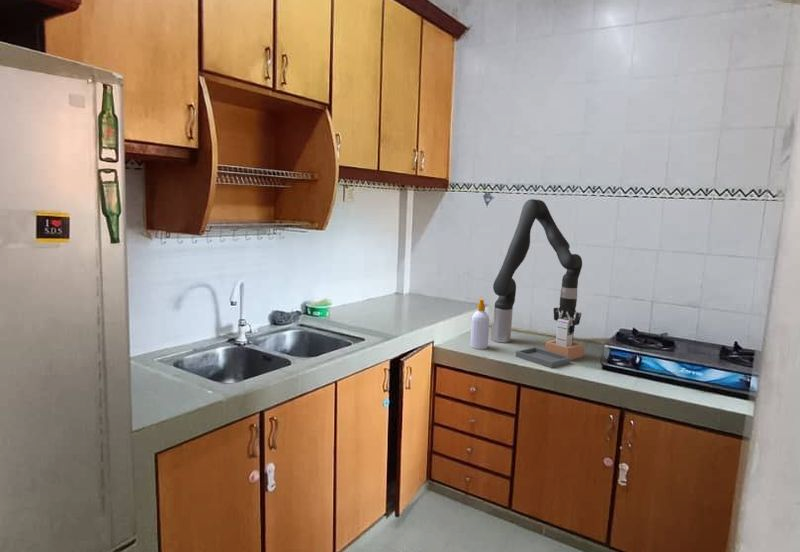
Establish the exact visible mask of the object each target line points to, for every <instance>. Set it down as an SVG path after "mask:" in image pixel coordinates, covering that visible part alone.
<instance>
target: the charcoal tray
mask: <svg viewBox="0 0 800 552" xmlns="http://www.w3.org/2000/svg"><path fill="white" fill-rule="evenodd" d="M518 357H519V359H521V358H522V360H524V359H525V361H529V362H531V363H534V364H537V365H540V364H541V365H540V366H544V367H547V368H550V369H554V368H557V366H558V367H560V365H561V366H564V364H565V365H569V364H571V361H572V360H571V357H567V356H564V355H560V354H557V353H554V352H550V351H547V350H545V349H543V348H539V347H537V346H536V347H535V346H533V347H528V348H524V349H520V350H519V349H518V350H516V351H515V358H518ZM568 363H569V364H568Z"/></svg>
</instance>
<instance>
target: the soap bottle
mask: <svg viewBox="0 0 800 552" xmlns="http://www.w3.org/2000/svg"><path fill="white" fill-rule="evenodd" d="M478 302H479V303H478V305H477V310H476V311H475V312H474V313H473V314H472V316H471V326H470V342H469V344H470V345H469V346H470V347H471V348H473V349H477V350H485V349H487V348H488V347H489V331H490V316H489V314H488V313H487V312H486V311H485V310H486V305H485V303H484V302H485V299H483V298H482V297H480V299H478Z"/></svg>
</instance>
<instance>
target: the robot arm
mask: <svg viewBox="0 0 800 552" xmlns="http://www.w3.org/2000/svg"><path fill="white" fill-rule="evenodd" d="M535 220H536V221H538V223H539V224H540V225H541V226H542V227H543V228H542V229H543V230H544V233H545V236H546V239H547V241H548V243H549V245H550V246H551V247H552V249H553V250H554V252H555V253H556V256H557V259H558V261H559V263H560V265H561V266H562V267H563V268H564V269H565V270H566V272H565V273H564V275H563V276H562V279H561V289H560V295H559V307H554V308H553V320H554V321H556V322H558V319H563V318H568V320H569V321H570V330H569V333H573V332H574V333H575V328H576V327H575V326H578V325H580V321H581V318H582V312H578V311H577V310H576V308H577V303H578V302H577V301H578V288H579V287H578V285H579V276H580V275H581V271H582V268H583V259H582V257H581V255H579V254H577V253H571V250H570V248H571V245H570V244H569V242H568V241H567V239H566V237H565V236H564V235H563V233H562V232H561V230H560V228H558V226H557V223H556V222H555V220H554V218H553V216H552V214H551V212H550V210H549V208H548V206H547V203H546V202H545V201H543V200H541V199H536V198H535V199H534V198H533V199H528V200H527V201H525V202H524V204H523V206H522V210H521V212H520V216H519V220H518V223H517V226H516V228H515V231H514V233H513V237H512V239H511V241H510V244H509V246H508V249H507V252H506V255H505V258H504V260H503V262H502V265H501V267H500V269H499V272H498V274H497V276H496V277H495V280H494V282H493V284H492V285H493V287H492V288H493V292H494V294H495V295H496V296H498V297H497V300H496V301H495V302H494V309H493V321H492V322H491V332H490V333H491V334H490V340H492V341H493V342H497V343H504V344H505V343H511V338H512V337H511V336H512V324H513V323H512V322H513V308H514V304H515V301H516V294H517V284H516V281H515V279H514V278H513V276H514V274H515V272H516V271H517V270H518V268H519V267H520V265H522V263H523V262H524V260H525V258H526V257H527V255H528V251H529V249H530V246H531V230H532V227H533V225H534V222H535Z"/></svg>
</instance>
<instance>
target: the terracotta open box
mask: <svg viewBox="0 0 800 552" xmlns="http://www.w3.org/2000/svg"><path fill="white" fill-rule="evenodd" d="M584 347H585V344H583V343H580V342H576V341H573V346H571V347H565V346H562V345H558V344H556V339H553V340H548V341H546V342H545V349H544V350H547V351H550V352H554V353H557V354H560V355H564V356H567V357H571V361H573V360H575V359H579V358H583V357H584Z"/></svg>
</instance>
